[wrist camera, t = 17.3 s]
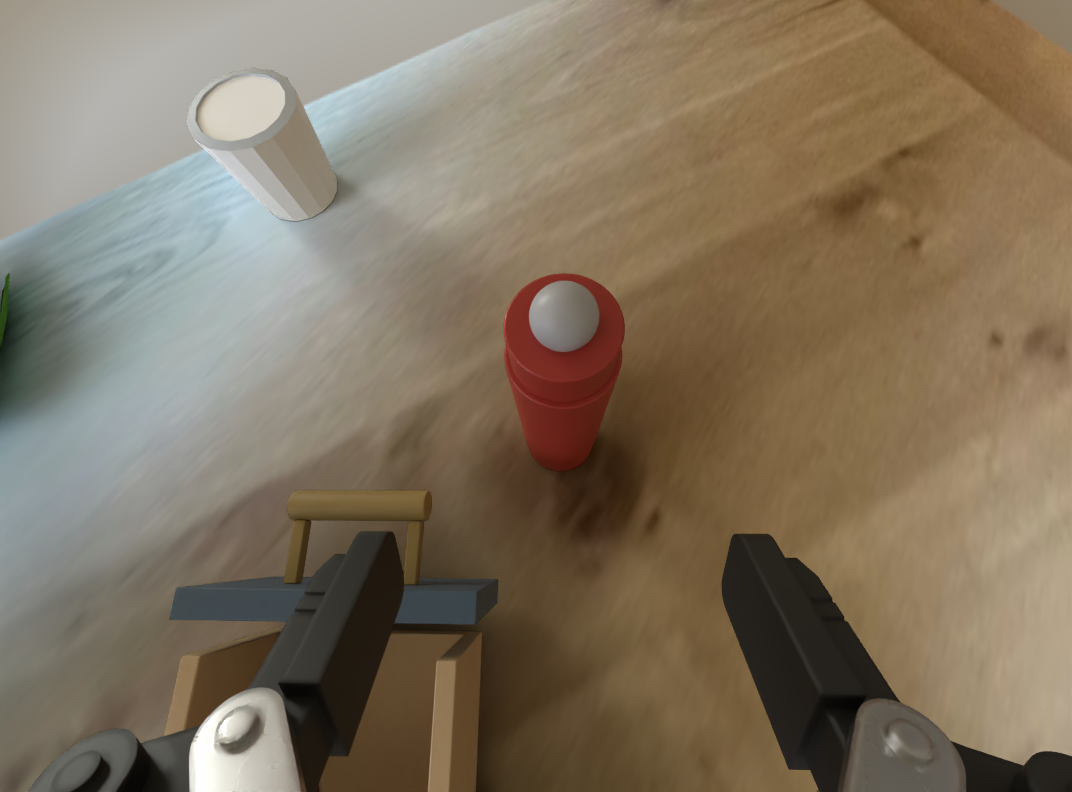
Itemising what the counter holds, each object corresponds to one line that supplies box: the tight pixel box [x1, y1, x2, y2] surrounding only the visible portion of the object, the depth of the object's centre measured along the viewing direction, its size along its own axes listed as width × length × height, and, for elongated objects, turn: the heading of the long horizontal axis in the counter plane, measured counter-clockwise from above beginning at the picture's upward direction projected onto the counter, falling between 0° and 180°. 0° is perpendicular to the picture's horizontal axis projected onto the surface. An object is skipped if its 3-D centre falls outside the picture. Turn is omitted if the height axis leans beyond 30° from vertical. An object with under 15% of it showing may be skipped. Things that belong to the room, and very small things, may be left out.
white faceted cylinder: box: [187, 68, 338, 221], centre depth 31 cm, size 7×7×7 cm
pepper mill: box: [504, 274, 625, 471], centre depth 20 cm, size 4×4×16 cm
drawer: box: [164, 490, 498, 792], centre depth 20 cm, size 19×12×7 cm, turn 0°
